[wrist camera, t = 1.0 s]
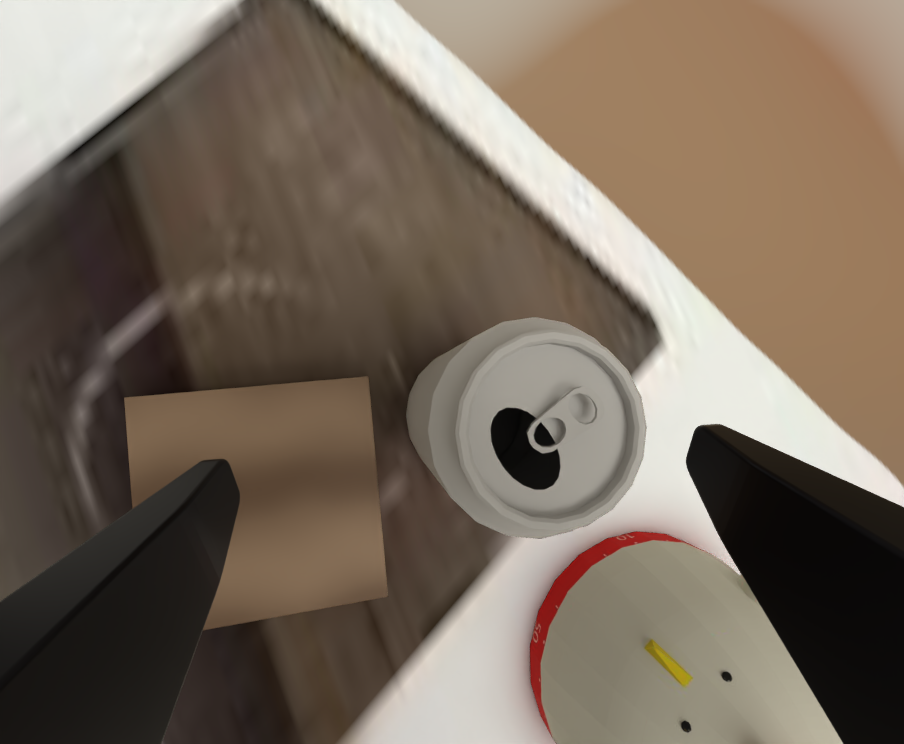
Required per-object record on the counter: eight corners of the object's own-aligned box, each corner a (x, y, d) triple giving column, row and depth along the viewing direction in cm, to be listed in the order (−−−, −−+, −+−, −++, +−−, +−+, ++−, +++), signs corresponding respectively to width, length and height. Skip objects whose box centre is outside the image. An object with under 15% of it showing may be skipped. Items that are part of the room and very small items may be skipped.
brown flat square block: (386, 576, 24) (388, 596, 22) (167, 613, 22) (142, 641, 20) (368, 377, 25) (368, 376, 22) (150, 397, 23) (124, 397, 20)
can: (377, 400, 24) (382, 406, 12) (483, 322, 25) (579, 260, 14) (457, 507, 25) (536, 611, 13) (557, 425, 26) (712, 451, 14)
